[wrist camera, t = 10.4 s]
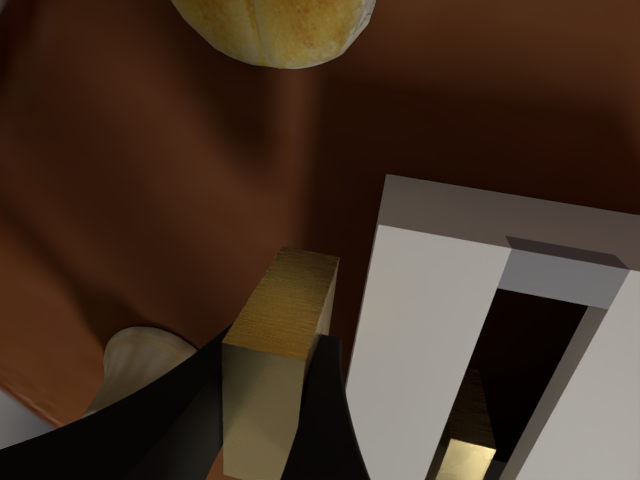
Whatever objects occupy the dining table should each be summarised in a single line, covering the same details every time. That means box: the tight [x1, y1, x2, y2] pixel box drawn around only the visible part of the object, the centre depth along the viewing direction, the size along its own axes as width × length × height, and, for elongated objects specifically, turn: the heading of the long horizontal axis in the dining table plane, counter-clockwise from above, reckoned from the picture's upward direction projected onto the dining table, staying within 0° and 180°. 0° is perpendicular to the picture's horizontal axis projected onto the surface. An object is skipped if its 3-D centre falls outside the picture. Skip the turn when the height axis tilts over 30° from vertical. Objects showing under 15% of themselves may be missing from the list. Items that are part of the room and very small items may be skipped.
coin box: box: [345, 174, 640, 480], centre depth 19 cm, size 18×12×6 cm, turn 174°
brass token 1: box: [222, 246, 339, 480], centre depth 12 cm, size 5×2×5 cm, turn 174°
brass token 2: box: [426, 368, 496, 480], centre depth 21 cm, size 5×2×5 cm, turn 174°
